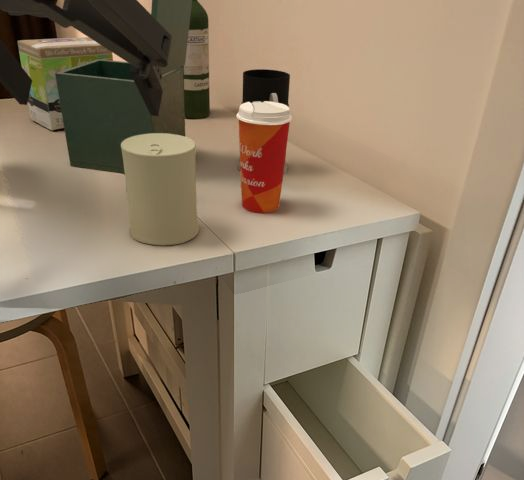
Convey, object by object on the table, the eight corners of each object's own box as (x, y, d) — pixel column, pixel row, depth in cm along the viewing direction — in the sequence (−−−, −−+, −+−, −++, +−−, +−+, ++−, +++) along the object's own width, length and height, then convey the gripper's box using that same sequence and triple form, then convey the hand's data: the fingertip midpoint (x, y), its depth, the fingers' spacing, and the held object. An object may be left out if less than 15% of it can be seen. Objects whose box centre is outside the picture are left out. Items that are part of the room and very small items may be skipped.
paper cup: (228, 198, 85) (228, 101, 76) (274, 193, 87) (280, 98, 79) (245, 218, 79) (248, 115, 71) (294, 213, 81) (302, 112, 73)
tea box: (52, 132, 108) (37, 47, 99) (30, 120, 114) (14, 39, 105) (120, 121, 117) (112, 41, 108) (96, 110, 122) (86, 34, 113)
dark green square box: (70, 166, 93) (54, 73, 85) (108, 143, 104) (98, 59, 96) (156, 178, 91) (149, 83, 82) (186, 153, 101) (182, 67, 93)
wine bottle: (196, 121, 119) (191, -51, 101) (166, 115, 122) (157, -53, 104) (216, 113, 125) (215, -51, 107) (188, 108, 128) (182, -53, 110)
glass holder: (282, 159, 101) (288, 68, 92) (298, 188, 90) (306, 88, 81) (234, 160, 100) (235, 68, 91) (245, 189, 88) (247, 87, 79)
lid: (155, -56, 72) (162, -54, 72) (193, -55, 82) (198, -54, 82) (146, 78, 82) (151, 80, 82) (180, 63, 92) (185, 65, 92)
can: (124, 245, 71) (113, 150, 64) (135, 216, 78) (126, 127, 71) (196, 246, 71) (193, 152, 64) (200, 217, 79) (198, 130, 72)
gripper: (-242, -68, 35) (-35, 122, 56) (140, -48, 32) (207, 143, 53) (-211, -169, 36) (-19, 54, 57) (162, -158, 33) (219, 72, 54)
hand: (90, 97), depth 55 cm, fingers open, 13 cm apart
